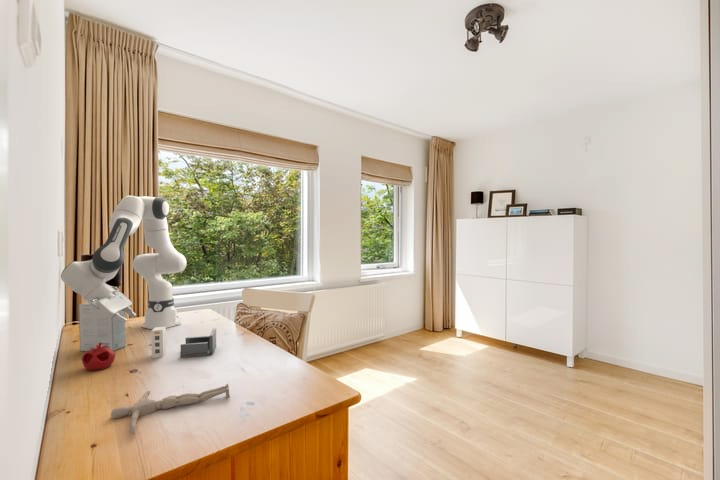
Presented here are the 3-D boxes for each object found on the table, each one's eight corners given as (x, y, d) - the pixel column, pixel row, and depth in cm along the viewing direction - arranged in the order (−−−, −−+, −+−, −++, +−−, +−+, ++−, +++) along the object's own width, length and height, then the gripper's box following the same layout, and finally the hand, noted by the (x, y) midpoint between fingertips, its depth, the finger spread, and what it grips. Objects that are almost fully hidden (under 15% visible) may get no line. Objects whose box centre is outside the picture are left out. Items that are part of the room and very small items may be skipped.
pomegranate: (90, 364, 134) (89, 340, 134) (120, 361, 137) (119, 337, 137) (76, 374, 125) (75, 348, 125) (108, 370, 127) (108, 345, 127)
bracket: (186, 348, 151) (186, 330, 151) (216, 346, 154) (216, 328, 154) (180, 357, 140) (180, 337, 140) (212, 354, 143) (212, 335, 143)
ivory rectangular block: (155, 353, 145) (155, 327, 145) (166, 352, 146) (165, 326, 146) (151, 358, 140) (151, 330, 140) (163, 357, 141) (162, 329, 141)
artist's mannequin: (226, 382, 120) (122, 402, 108) (226, 369, 120) (121, 388, 108) (232, 419, 94) (97, 451, 82) (231, 403, 94) (96, 433, 82)
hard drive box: (126, 346, 155) (125, 301, 154) (112, 352, 147) (111, 305, 147) (94, 345, 156) (93, 300, 156) (78, 351, 149) (77, 304, 148)
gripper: (95, 294, 128) (126, 319, 131) (118, 286, 148) (144, 308, 150) (81, 307, 127) (112, 332, 129) (106, 297, 146) (133, 319, 149)
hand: (130, 319), depth 140 cm, fingers open, 8 cm apart
